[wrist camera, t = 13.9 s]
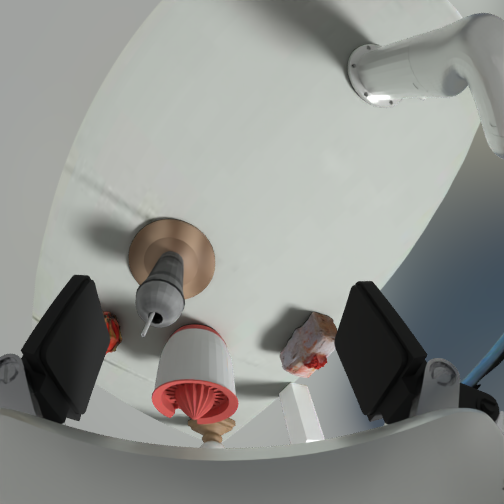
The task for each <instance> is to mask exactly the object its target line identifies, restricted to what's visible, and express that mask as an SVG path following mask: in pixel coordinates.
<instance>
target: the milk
mask: <svg viewBox="0 0 504 504" xmlns="http://www.w3.org/2000/svg"><path fill="white" fill-rule="evenodd" d="M279 397H280V401H281V405H282V409H283V414H284V418H285V422H286V426H287V431H288V434H289V439H290V443H291V444H299V443H307V442H313V441H319V440H325V439H324V436H323V433H322V429H321V426H320V423H319V420H318V417H317V414H316V411H315V408H314V405H313V402H312V399H311V396H310V393H309V390H308V387H307V386H306V385H301V384H296V383H292V382H291V383H290V384H289V385H287V386H286V387H285V388H284V389H283V390H282V391H281V392H280V393H279Z"/></svg>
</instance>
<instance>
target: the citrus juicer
mask: <svg viewBox="0 0 504 504" xmlns="http://www.w3.org/2000/svg"><path fill="white" fill-rule="evenodd" d="M152 402H153V404H154V406H155V408H156V409H157V410H158V411H159V412H161V413H162V414H163V415H165V416H167V417H169V418H171V417H172V416H173V415H174V414H175V409H178V408H179V409H181V410H182V411H183V412H184V413H185V414H186V415H187V416H189V417H190V418H192V419H194V420H196V419H197V424H211V423H216V422H220V421H222V420H225V419H227V418H229V417H230V416H232V415H233V414H234V413H235V411H236V410H237V408H238V399H237V397H236V392H235V382H234V371H233V364H232V359H231V356H230V353H229V351H228V348H227V346H226V343H225V342H224V340H223V339H222V337H221V336H220V335H219V333H217V332H216V331H215V330H213V329H212V328H210V327H207V326H204V325H197V324H193V325H186V326H183V327H181V328H179V329H177V330H176V331H175V332H174V333H173V334H172V335H171V336H170V338H169V339H168V341H167V343H166V345H165V347H164V349H163V351H162V353H161V357H160V361H159V365H158V371H157V377H156V383H155V390H154V392H153V393H152Z"/></svg>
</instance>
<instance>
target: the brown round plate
mask: <svg viewBox="0 0 504 504" xmlns="http://www.w3.org/2000/svg"><path fill="white" fill-rule="evenodd" d="M168 251H173V252H176V253H178V254H179V255H180V256H181V257H182V259H183V262H184V276H183V294H184V299H188V298H191V297H194V296H195V295H197V294H199V293H200V292H202V291H203V290H204V289H205V288H206V287H207V286H208V284H209V283H210V281H211V279H212V277H213V274H214V270H215V255H214V251H213V248H212V246H211V243H210V242H209V240H208V239H207V237H206V236H205V235H204V234H203V233H202V232H201V231H200V230H199V229H198V228H196V227H195V226H193V225H191V224H189V223H187V222H184V221H181V220H176V219H163V220H158V221H155V222H152V223H150V224H148V225H147V226H145V227H144V228H142V229H141V230H140V231H139V232H138V234H137V235H136V236H135V238H134V240H133V241H132V243H131V246H130V250H129V266H130V269H131V272H132V274H133V276H134V278H135V280H136V281H137V282H138V284H139V285H141V284H142V283H143V282H144V281H145V279H147V277H148V276H149V274H150V272H151V271H152V269H153V267H154V266H155V264H156V262H157V261H158V259H159V258H160V257H161V255H162V254H163V253H165V252H168Z"/></svg>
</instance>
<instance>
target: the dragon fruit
mask: <svg viewBox="0 0 504 504" xmlns="http://www.w3.org/2000/svg"><path fill="white" fill-rule="evenodd" d="M103 316H104V319H105V322H106V325H107V329H108V332H109V335H110V344H109V347H108V349H107V352H106V354H107V353H108V352H113V351H116V348H117V346H118V345H119V344H120V343H121V341H122V337H121V332H120V326H119V325H118V321H117V318H116V316H115V315H114V317H111V313H110V312H103Z"/></svg>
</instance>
